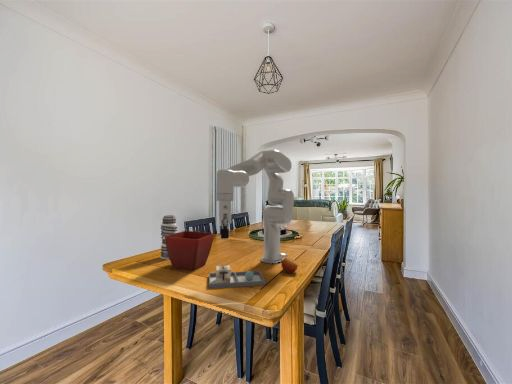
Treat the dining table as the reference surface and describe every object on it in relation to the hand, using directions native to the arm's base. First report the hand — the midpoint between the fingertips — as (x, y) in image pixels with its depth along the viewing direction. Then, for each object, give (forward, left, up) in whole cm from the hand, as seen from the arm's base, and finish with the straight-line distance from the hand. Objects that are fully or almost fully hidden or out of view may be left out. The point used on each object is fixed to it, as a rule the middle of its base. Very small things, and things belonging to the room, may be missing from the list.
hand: (224, 236), depth 102 cm
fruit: (-34, -9, -21) cm, 41 cm away
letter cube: (0, 0, -20) cm, 20 cm away
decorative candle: (+30, -43, -21) cm, 56 cm away
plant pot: (+16, -25, -21) cm, 36 cm away
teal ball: (-12, 0, -20) cm, 23 cm away
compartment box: (-6, 0, -20) cm, 21 cm away
